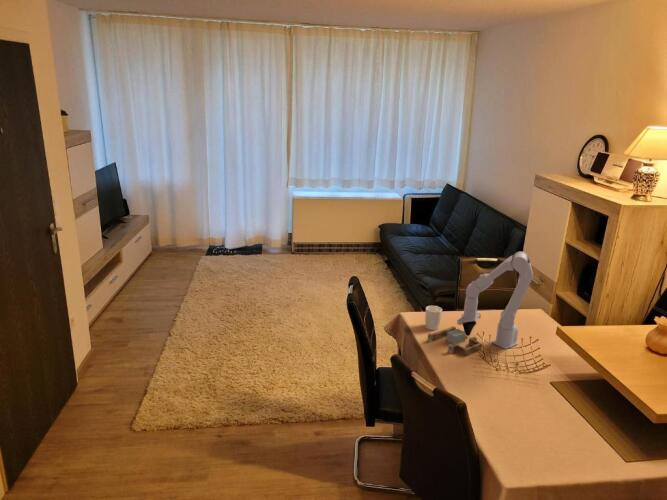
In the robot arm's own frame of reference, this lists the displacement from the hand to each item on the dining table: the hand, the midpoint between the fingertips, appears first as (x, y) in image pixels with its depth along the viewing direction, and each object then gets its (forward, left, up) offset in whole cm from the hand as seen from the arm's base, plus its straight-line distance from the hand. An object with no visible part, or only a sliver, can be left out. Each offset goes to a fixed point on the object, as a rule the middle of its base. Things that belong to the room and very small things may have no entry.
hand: (467, 334), depth 236 cm
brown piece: (+11, +2, -1) cm, 11 cm away
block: (+8, 0, -1) cm, 8 cm away
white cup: (+7, -16, -1) cm, 18 cm away
